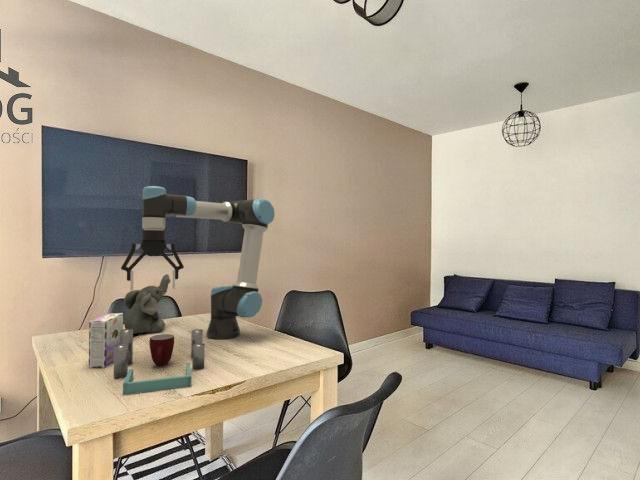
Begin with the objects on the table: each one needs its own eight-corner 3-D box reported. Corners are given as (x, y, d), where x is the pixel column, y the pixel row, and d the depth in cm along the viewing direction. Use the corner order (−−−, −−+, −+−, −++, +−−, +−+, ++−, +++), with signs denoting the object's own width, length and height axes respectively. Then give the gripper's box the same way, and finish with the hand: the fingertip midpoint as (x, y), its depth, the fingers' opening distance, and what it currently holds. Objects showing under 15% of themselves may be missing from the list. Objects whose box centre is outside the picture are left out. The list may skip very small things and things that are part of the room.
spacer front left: (204, 365, 129) (204, 342, 129) (204, 368, 125) (204, 345, 125) (192, 366, 128) (192, 343, 128) (192, 370, 124) (192, 346, 124)
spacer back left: (202, 354, 141) (202, 328, 141) (202, 357, 137) (202, 331, 137) (191, 355, 140) (191, 329, 140) (191, 358, 136) (191, 332, 136)
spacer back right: (133, 361, 133) (133, 328, 133) (131, 364, 129) (132, 331, 129) (120, 362, 131) (121, 329, 131) (119, 366, 127) (119, 332, 127)
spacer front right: (128, 373, 120) (128, 343, 120) (126, 377, 117) (127, 346, 117) (114, 374, 119) (115, 344, 119) (112, 379, 115) (112, 347, 115)
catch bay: (190, 371, 123) (190, 362, 123) (191, 386, 110) (191, 376, 110) (129, 378, 116) (129, 369, 116) (122, 394, 104) (123, 384, 104)
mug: (174, 369, 124) (174, 340, 125) (148, 372, 121) (148, 342, 121) (173, 360, 134) (174, 333, 134) (149, 362, 131) (150, 335, 131)
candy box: (107, 355, 139) (108, 312, 139) (123, 355, 139) (124, 312, 139) (87, 368, 125) (88, 320, 125) (105, 368, 125) (106, 320, 126)
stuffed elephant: (171, 325, 189) (171, 273, 189) (159, 336, 168) (160, 277, 168) (131, 326, 186) (132, 274, 186) (115, 337, 165) (116, 278, 165)
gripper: (189, 230, 138) (189, 286, 138) (115, 229, 128) (114, 289, 128) (191, 230, 131) (191, 288, 131) (112, 228, 121) (112, 292, 121)
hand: (153, 289), depth 129 cm, fingers open, 13 cm apart
